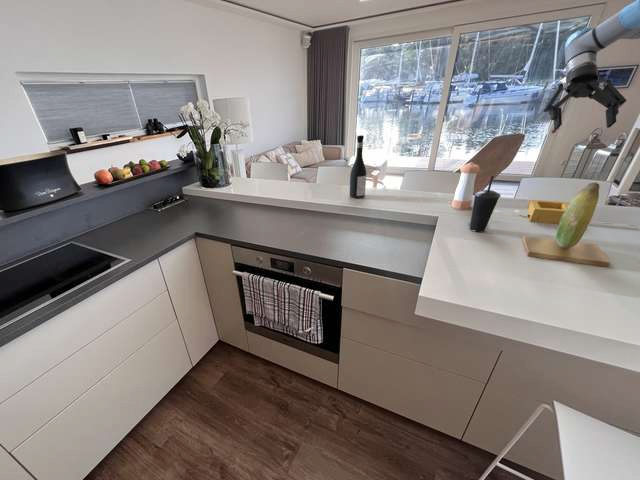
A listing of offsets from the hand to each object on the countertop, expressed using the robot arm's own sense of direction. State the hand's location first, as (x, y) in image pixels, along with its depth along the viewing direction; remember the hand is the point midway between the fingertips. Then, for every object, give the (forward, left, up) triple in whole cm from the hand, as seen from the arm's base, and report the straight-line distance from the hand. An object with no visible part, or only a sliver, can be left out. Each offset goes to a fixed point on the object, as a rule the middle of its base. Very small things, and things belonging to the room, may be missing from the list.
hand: (584, 126), depth 93 cm
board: (0, +29, -33) cm, 43 cm away
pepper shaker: (+28, -7, -33) cm, 44 cm away
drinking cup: (+22, +18, -33) cm, 44 cm away
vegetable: (0, +29, -31) cm, 42 cm away
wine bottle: (+76, -10, -33) cm, 84 cm away
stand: (-1, -2, -33) cm, 33 cm away
